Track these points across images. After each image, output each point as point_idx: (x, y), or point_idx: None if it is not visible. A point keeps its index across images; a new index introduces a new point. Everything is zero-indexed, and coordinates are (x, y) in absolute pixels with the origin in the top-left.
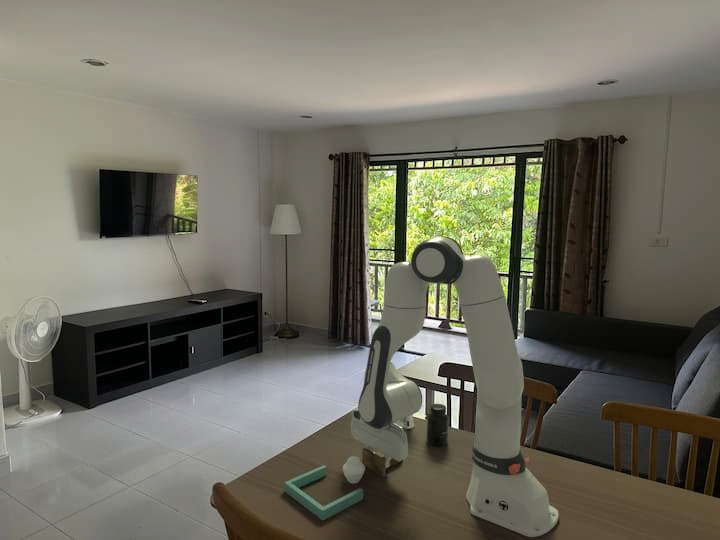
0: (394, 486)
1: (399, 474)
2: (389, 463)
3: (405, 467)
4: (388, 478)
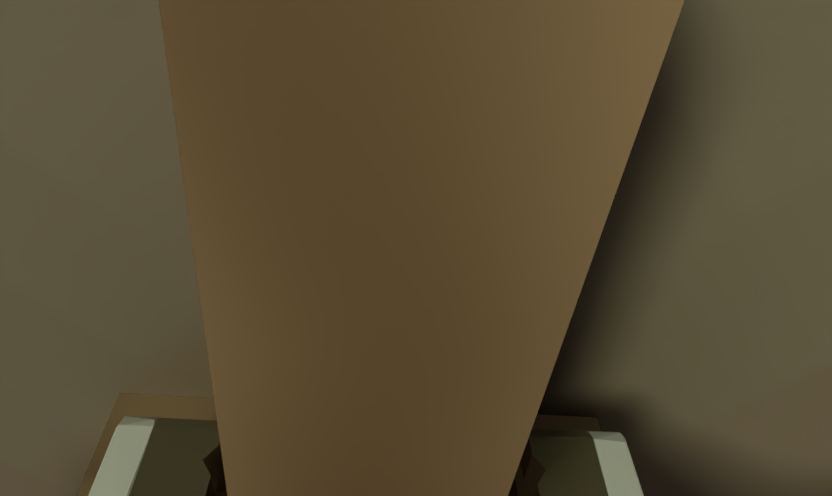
0: (812, 475)
1: (773, 281)
2: (636, 476)
3: (799, 25)
4: (662, 424)
